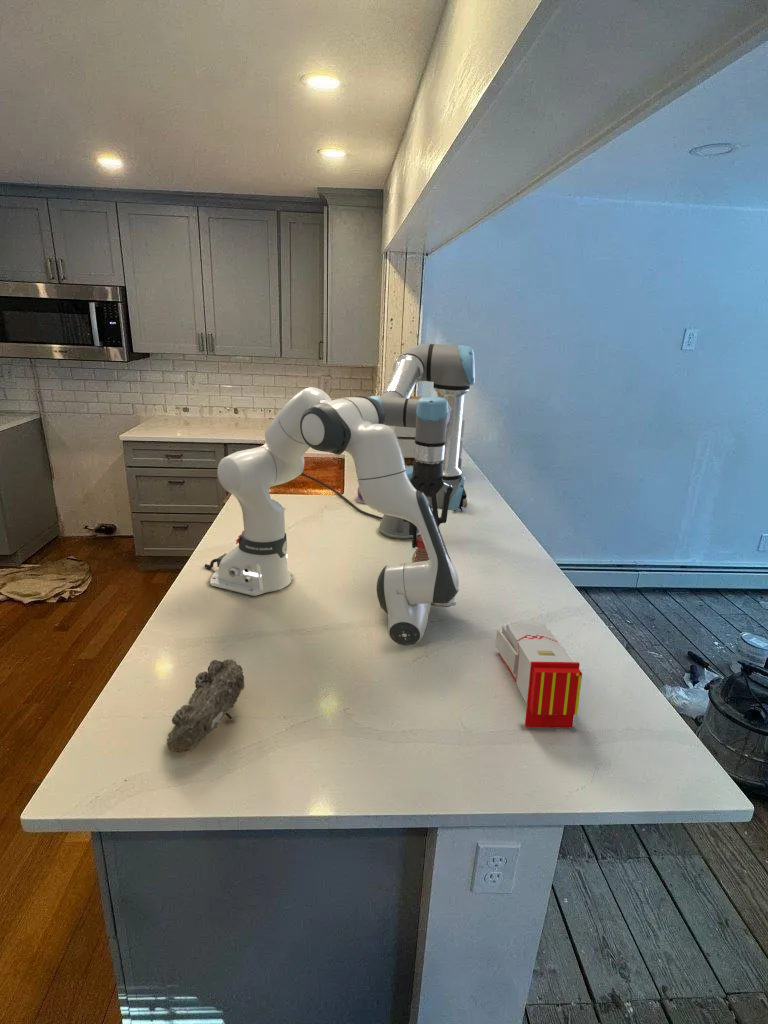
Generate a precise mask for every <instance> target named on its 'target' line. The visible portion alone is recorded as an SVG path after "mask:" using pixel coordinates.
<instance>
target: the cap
mask: <svg viewBox="0 0 768 1024" xmlns="http://www.w3.org/2000/svg"><path fill="white" fill-rule="evenodd" d="M417 548H420V549H426V548H425V545H424V542H423V539H422V537H421V536H419V537H416V549H417Z"/></svg>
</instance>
